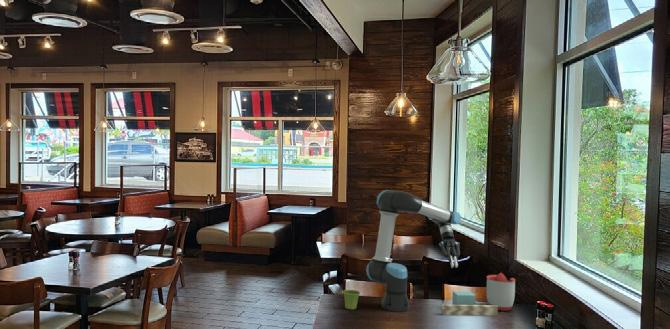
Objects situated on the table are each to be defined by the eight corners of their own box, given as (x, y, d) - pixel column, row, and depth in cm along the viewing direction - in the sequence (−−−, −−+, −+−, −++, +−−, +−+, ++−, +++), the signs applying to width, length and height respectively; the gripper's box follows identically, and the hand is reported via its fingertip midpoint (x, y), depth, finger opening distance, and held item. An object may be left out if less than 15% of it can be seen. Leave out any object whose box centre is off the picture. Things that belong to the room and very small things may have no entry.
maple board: (442, 315, 239) (442, 305, 239) (441, 313, 241) (441, 304, 241) (497, 315, 241) (497, 306, 241) (496, 314, 243) (496, 305, 243)
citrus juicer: (521, 308, 255) (522, 273, 255) (505, 314, 244) (506, 277, 244) (496, 301, 267) (497, 268, 267) (480, 306, 256) (481, 271, 256)
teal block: (456, 311, 246) (457, 295, 246) (452, 307, 254) (452, 291, 254) (474, 311, 247) (475, 295, 247) (469, 307, 255) (470, 291, 255)
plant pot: (352, 304, 252) (353, 289, 253) (362, 309, 244) (363, 293, 245) (339, 306, 247) (339, 291, 247) (348, 311, 239) (349, 295, 240)
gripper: (457, 238, 287) (465, 270, 271) (434, 237, 287) (441, 269, 270) (460, 231, 282) (468, 263, 265) (436, 230, 281) (443, 262, 264)
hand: (454, 266), depth 268 cm, fingers closed
